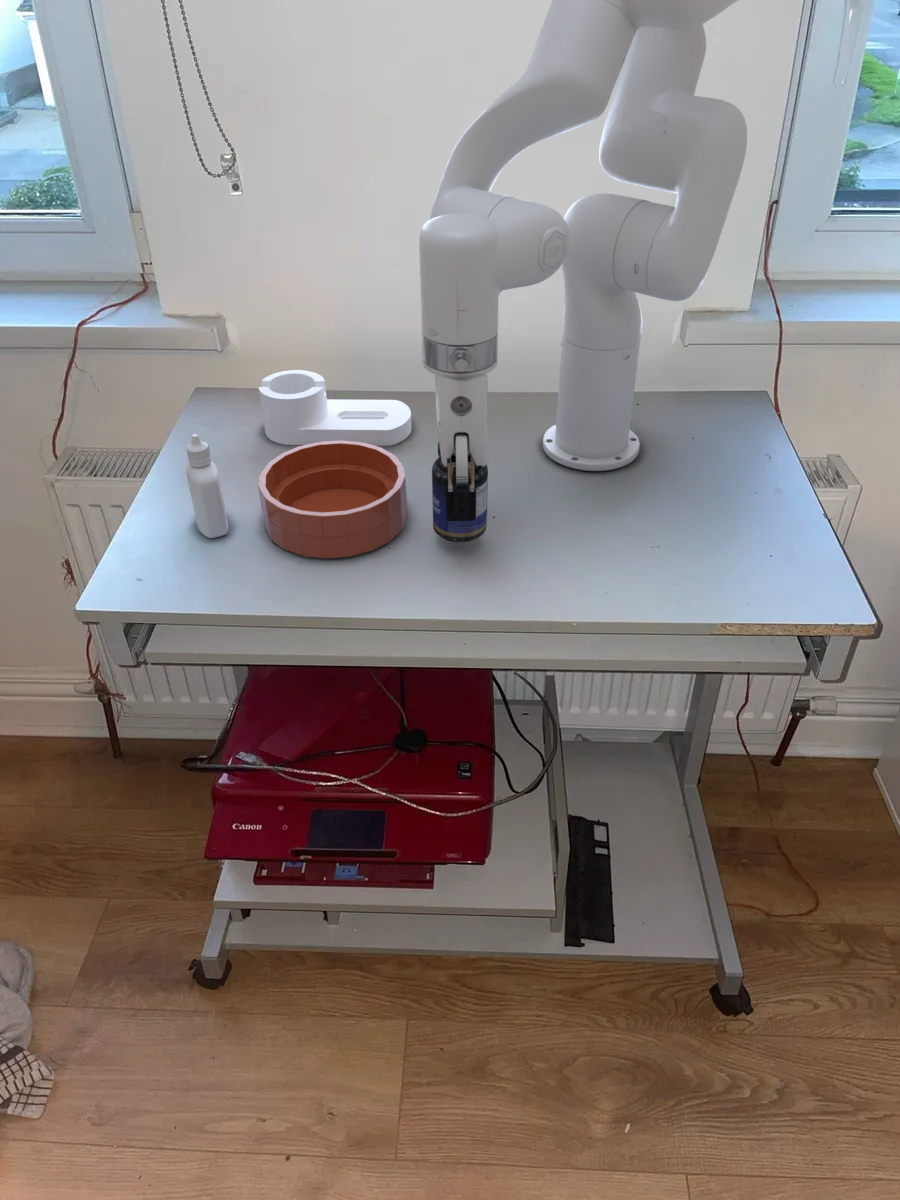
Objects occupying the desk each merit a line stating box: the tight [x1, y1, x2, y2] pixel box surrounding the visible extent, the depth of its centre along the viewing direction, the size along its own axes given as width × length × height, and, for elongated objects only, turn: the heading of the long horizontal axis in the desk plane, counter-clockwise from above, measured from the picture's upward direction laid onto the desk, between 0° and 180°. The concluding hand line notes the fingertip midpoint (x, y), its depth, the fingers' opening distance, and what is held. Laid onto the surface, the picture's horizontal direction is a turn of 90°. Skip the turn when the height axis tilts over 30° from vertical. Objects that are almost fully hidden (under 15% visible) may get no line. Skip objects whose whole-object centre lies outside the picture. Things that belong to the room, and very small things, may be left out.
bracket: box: [258, 369, 412, 447], centre depth 127 cm, size 20×9×7 cm, turn 88°
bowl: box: [257, 440, 408, 559], centre depth 110 cm, size 17×17×6 cm
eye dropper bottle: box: [185, 433, 230, 539], centre depth 107 cm, size 4×6×12 cm
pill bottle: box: [431, 438, 489, 543], centre depth 104 cm, size 6×6×11 cm
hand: (460, 501), depth 105 cm, fingers closed on pill bottle, 6 cm apart
